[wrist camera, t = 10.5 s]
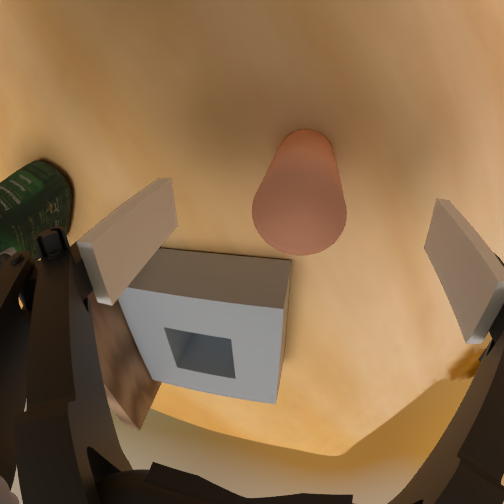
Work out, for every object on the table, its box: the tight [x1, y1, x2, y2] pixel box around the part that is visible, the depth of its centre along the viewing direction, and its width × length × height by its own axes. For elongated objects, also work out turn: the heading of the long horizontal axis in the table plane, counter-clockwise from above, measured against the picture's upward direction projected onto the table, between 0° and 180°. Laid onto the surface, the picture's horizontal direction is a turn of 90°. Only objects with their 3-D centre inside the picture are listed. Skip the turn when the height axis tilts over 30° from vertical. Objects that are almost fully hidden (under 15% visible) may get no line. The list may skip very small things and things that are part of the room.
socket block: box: [118, 248, 291, 404], centre depth 28 cm, size 14×14×6 cm
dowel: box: [252, 129, 347, 255], centre depth 17 cm, size 4×4×10 cm
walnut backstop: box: [88, 291, 162, 430], centre depth 27 cm, size 20×2×12 cm, turn 1°
